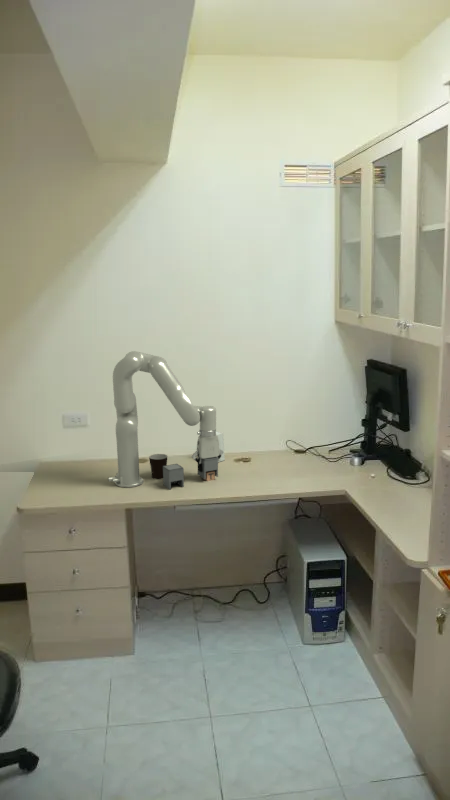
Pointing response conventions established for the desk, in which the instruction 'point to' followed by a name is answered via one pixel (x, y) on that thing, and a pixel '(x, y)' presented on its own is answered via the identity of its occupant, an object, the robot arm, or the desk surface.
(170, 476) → the cover left
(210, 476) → the letter cube
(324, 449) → the desk surface
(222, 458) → the skincare box
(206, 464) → the cover right
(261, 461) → the desk surface
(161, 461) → the coffee mug
